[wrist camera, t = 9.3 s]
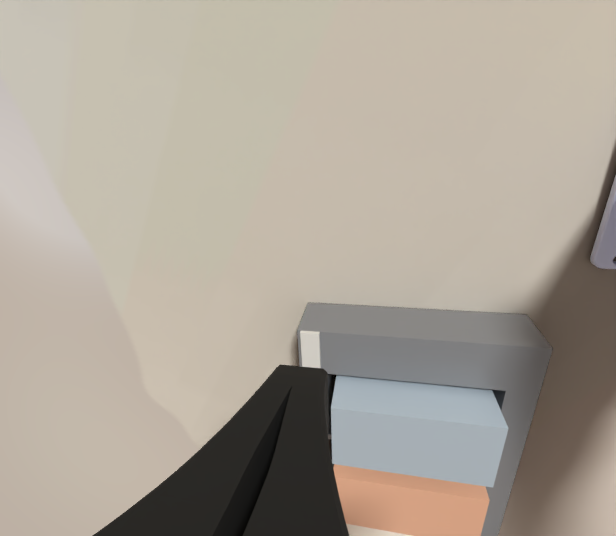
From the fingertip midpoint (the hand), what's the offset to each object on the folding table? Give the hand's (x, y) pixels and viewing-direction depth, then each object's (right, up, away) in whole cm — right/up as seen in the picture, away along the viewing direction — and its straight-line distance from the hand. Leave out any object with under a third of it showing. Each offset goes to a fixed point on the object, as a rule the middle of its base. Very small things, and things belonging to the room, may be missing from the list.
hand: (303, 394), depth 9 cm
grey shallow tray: (+6, -8, +14) cm, 17 cm away
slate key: (+6, -4, +11) cm, 13 cm away
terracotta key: (+6, -8, +12) cm, 16 cm away
